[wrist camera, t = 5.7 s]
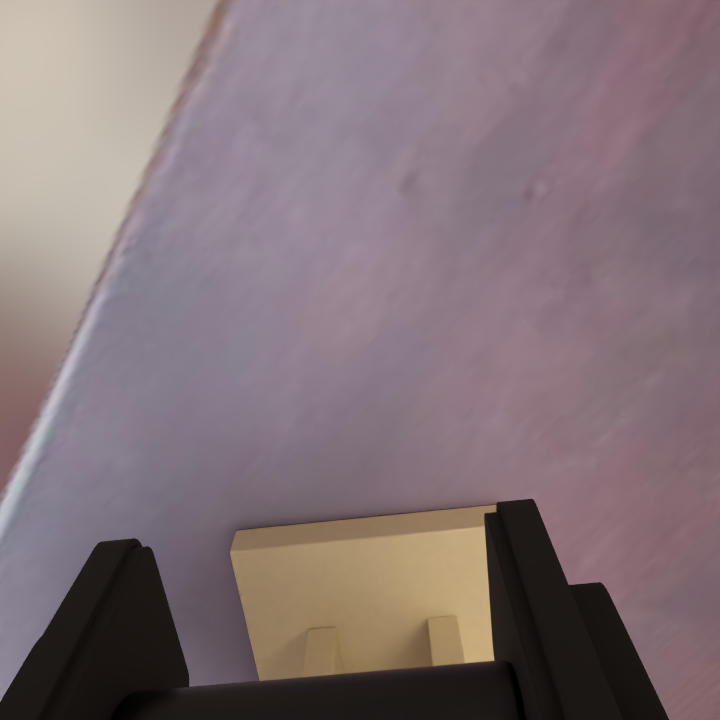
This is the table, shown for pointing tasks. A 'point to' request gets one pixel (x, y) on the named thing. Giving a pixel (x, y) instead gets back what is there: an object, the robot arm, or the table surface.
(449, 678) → the lever
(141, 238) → the table surface
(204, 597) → the table surface
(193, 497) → the table surface
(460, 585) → the bracket
